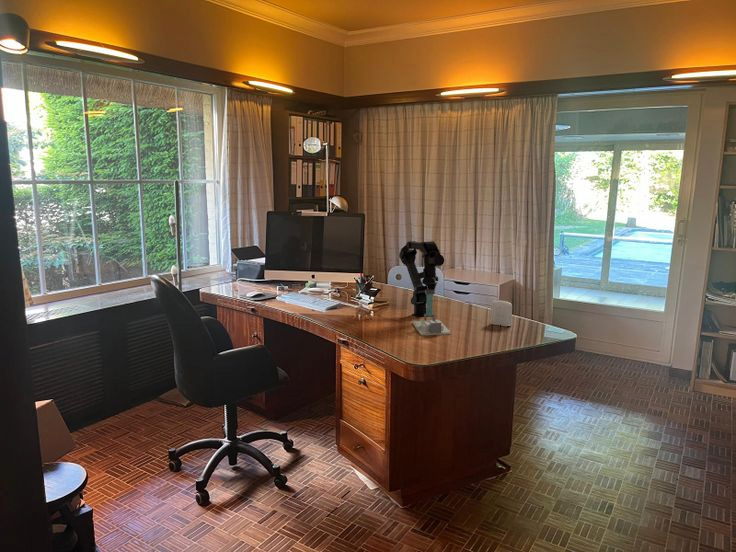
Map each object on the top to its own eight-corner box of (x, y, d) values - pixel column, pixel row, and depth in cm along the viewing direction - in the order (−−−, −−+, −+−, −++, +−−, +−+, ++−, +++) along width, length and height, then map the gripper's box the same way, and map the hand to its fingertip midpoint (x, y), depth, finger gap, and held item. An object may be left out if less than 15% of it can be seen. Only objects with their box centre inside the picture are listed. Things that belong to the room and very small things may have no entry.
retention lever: (425, 316, 262) (425, 289, 260) (433, 316, 263) (433, 289, 260) (425, 317, 260) (426, 290, 258) (434, 317, 261) (434, 290, 258)
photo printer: (512, 325, 263) (513, 300, 261) (509, 327, 260) (510, 302, 257) (492, 322, 269) (493, 298, 267) (489, 324, 265) (490, 300, 263)
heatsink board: (412, 323, 270) (412, 310, 268) (439, 322, 271) (439, 309, 270) (421, 335, 248) (421, 322, 247) (450, 334, 249) (450, 321, 248)
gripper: (416, 266, 283) (418, 295, 283) (411, 267, 264) (413, 299, 265) (437, 265, 280) (439, 294, 281) (433, 266, 262) (435, 298, 263)
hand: (431, 296), depth 272 cm, fingers closed
